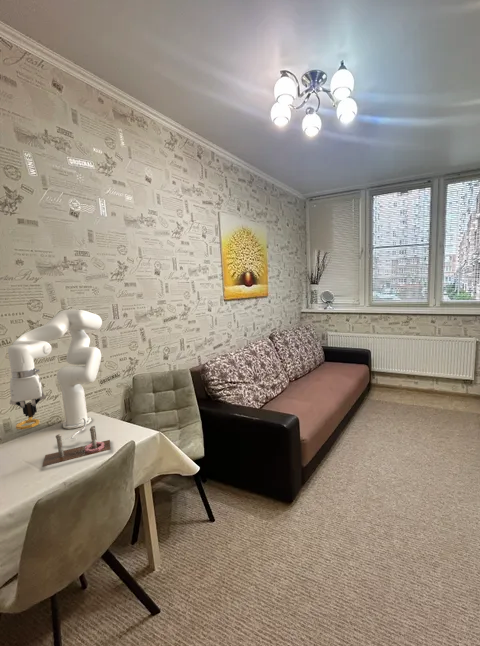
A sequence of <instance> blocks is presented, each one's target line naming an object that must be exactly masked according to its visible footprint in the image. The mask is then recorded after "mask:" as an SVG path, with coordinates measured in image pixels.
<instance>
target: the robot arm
mask: <svg viewBox="0 0 480 646" xmlns="http://www.w3.org/2000/svg"><path fill="white" fill-rule="evenodd" d="M102 325H103V320H102V317H101V316H100V315H99V314H97V313H93V312H91V311H88V310H84V309H63V310H59V312H57V313H56V314H55V315H54V316H53V317H52V318H51V319H50V320H49V321H47V322H46V323H45V324H43V325H41V326H38V327H36V328H33V329H30V330H29V331H26V332H25V333H23V334H21V335H20V336H19V337H18V338H17V339H15V340H14V341H13V343H12V344H11V345H10V346H8V348H7V355H8V360H9V367H10V373H11V378H10V381H9V390H10V391H9V393H10V401H9V404H10V405H12V406H13V405H14V406H15V405H16V406H18V407H20V408H21V409H22V412H23V415H24V416H25V417H27V418H28V411H27V406H26V403H27V402H26V401H31V404H32V405H31V412H32V415H33V416H35V415H36V413H37V412H38V411H37V404H38V403H39V402H41V401H43V400H45V399H46V397H47V396H46V395H45V393H44V390H43V385H42V381H41V377H40V375H39V374H38V373H40V371H41V370H40V369H39V368H36V367H35V359H36V360H37V359H42V358H43V359H44V358H46V357H48V356H49V355H50V354H51V352H52V349H53V348H52V345H51V344H50V343H49V342H51V341H55V340H57V339H61V338H62V337H63V336H64V335H65V334H66V333H67V332H68V331H69V332H70V335H71V340H70V344H69V348H68V350H67V354H66V362H67V363H68V364H69V365H66V366H62V367H60V368H59V369H58V371H57V372H56V380H57V382H58V384H59V387H60V392H61V397H62V403H63V410H64V417H65V421H64V422H63V423H62V428H63V429H67V430H68V429H69V430H72V429H78V428H83V427H84V420H83V419H80V418H81V417H84V418H85V419H86V426H87V425H88V424H90V423H91V422H92V417H90V416H88V411H87V402H86V395H85V389H84V387H83V385H91V384H93V383H94V382H95V381H96V379H97V377H98V373H99V369H100V366H101V361H102V351H101V350H100V349H99V347H96V346H90V344H91V339H90V336H89V334H87V333H86V331H98V330H99V329H100V328H101V327H102ZM79 419H80V420H79Z"/></svg>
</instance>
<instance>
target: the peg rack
mask: <svg viewBox="0 0 480 646" xmlns="http://www.w3.org/2000/svg"><path fill="white" fill-rule="evenodd" d="M95 431H96V427H95V428H94V427H92V426H91V427H90V428H89V432H90V438H91V443H92V446H91V447H90V448H88V449H91V450H92V449H96V448H98V447H100V446H101V445H96V442H97V440H96V439H97V436H96V437H95ZM55 439H56V444H57V451H56V452H52V453H48V454H45V456H44V459H43V463H42V465H41V467H42V468H44V467H48V466H52V465H54V464H55V465H56V464H59V463H63V462H67V461H71V460H76V459H79V458H82V457H86V456H90V455H95V454H99V453H102V452H106V451H110V450H111V440H110V439H106V440H103V441H101V442H103V443H104V448H102V449H101V450H99V451H96V452H92V453H88V452H85V447H86V446H87V445H88V444H86V445H81V446H78V447H73V448H70V449H69V448H68V449H65V450H64V448H63V447H64V446H63V439H62V434H60V433H58V434H56V435H55Z"/></svg>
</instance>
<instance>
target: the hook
mask: <svg viewBox="0 0 480 646" xmlns="http://www.w3.org/2000/svg"><path fill="white" fill-rule="evenodd" d="M80 419H83V420H84V426H82V429H81V431H85V429H86V426H87V425H86V419H85V418H84V417H81V418H80ZM80 419H79V420H80ZM79 432H80V430H78V431H76V432H74V433H73V435H71V436H70V437H67V438H66V440H70V439H72V440H74V439H75V440H78V439H79V438H77V437H75V436H76V435H78V433H79ZM64 440H65V438H63V439H62V441H64Z"/></svg>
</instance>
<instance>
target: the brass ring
mask: <svg viewBox="0 0 480 646" xmlns="http://www.w3.org/2000/svg"><path fill="white" fill-rule="evenodd" d="M25 403H26V406H27V411H28V416H27V418H28V419H26V420H22V421H20V422H18V423H16V425H15V429H16V430H21V431H22V430H27V429H31V428H34V427H36V426H38V425H39V424H40V423H41V421H40V419H38V418H34V415H32V412H31V405H32V401H31V402H25ZM25 424H27V425H25Z"/></svg>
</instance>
